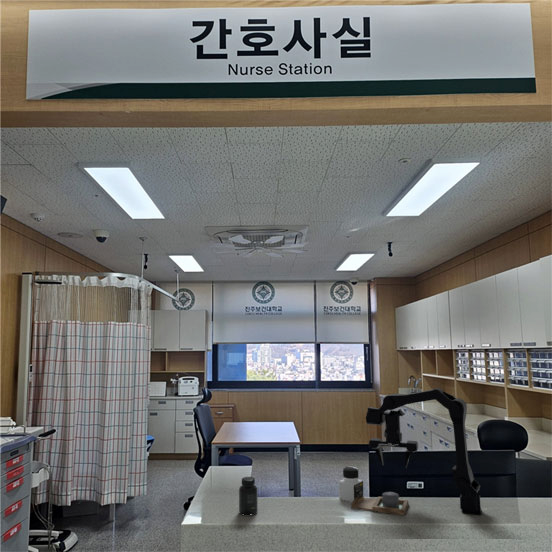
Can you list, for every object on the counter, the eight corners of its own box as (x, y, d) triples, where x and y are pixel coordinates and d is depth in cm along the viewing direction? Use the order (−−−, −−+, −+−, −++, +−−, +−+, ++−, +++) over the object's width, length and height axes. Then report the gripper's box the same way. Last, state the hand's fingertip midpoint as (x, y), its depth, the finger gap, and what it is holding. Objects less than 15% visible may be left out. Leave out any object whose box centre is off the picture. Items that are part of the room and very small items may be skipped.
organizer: (408, 504, 185) (408, 500, 185) (404, 515, 174) (404, 510, 174) (358, 498, 192) (357, 494, 192) (351, 508, 181) (351, 503, 182)
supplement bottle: (259, 509, 181) (259, 476, 182) (254, 516, 174) (254, 482, 176) (242, 508, 183) (242, 475, 184) (236, 515, 176) (236, 480, 177)
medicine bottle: (354, 503, 187) (353, 471, 189) (338, 499, 192) (338, 468, 193) (363, 498, 193) (363, 467, 194) (348, 494, 197) (347, 464, 199)
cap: (400, 505, 183) (399, 492, 184) (397, 511, 178) (397, 497, 178) (384, 503, 185) (383, 490, 186) (381, 509, 180) (380, 495, 180)
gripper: (418, 424, 198) (420, 463, 197) (373, 421, 205) (374, 459, 204) (415, 429, 188) (417, 471, 186) (367, 426, 195) (369, 466, 194)
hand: (394, 466), depth 193 cm, fingers open, 9 cm apart
